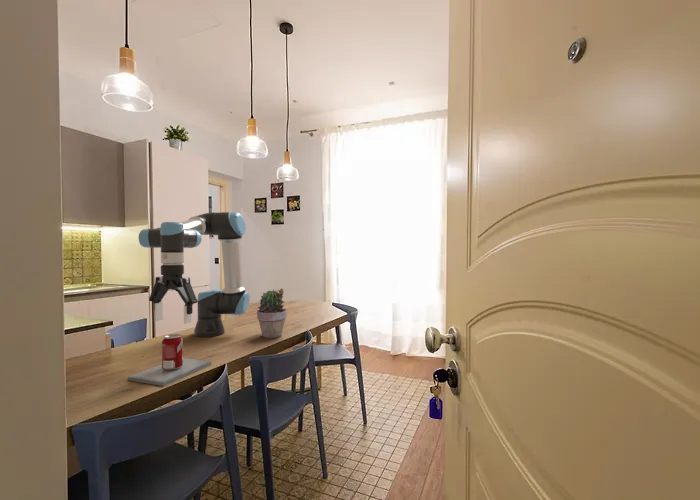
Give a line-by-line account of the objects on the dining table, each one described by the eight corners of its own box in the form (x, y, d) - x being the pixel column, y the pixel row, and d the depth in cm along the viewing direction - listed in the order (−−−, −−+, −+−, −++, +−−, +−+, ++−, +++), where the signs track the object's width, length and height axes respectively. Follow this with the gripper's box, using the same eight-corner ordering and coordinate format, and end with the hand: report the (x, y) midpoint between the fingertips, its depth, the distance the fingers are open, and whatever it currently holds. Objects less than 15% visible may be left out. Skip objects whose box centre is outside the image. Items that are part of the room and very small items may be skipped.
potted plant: (257, 331, 184) (257, 286, 184) (292, 331, 183) (292, 286, 183) (245, 339, 166) (246, 289, 166) (284, 340, 165) (284, 290, 165)
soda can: (173, 372, 119) (173, 338, 119) (157, 370, 120) (157, 337, 120) (186, 365, 125) (186, 334, 125) (171, 364, 127) (171, 333, 127)
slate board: (179, 360, 136) (179, 357, 136) (211, 364, 131) (211, 361, 131) (128, 380, 115) (128, 376, 115) (164, 386, 110) (164, 382, 110)
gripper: (137, 264, 123) (138, 321, 123) (191, 265, 115) (192, 326, 115) (155, 262, 130) (155, 317, 130) (207, 264, 122) (207, 321, 123)
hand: (173, 321), depth 123 cm, fingers open, 13 cm apart
